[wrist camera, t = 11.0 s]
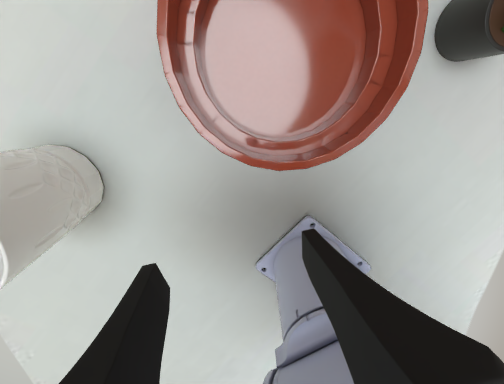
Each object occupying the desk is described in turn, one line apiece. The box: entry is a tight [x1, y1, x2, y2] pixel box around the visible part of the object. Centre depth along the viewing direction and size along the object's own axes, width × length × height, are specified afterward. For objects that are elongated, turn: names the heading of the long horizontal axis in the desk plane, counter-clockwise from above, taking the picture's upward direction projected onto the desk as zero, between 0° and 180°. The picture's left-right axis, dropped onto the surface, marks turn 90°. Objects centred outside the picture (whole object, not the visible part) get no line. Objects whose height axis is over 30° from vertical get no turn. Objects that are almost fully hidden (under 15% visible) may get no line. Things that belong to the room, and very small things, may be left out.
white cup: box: [0, 145, 104, 290], centre depth 17 cm, size 8×8×10 cm
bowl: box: [157, 0, 428, 171], centre depth 16 cm, size 15×15×4 cm
